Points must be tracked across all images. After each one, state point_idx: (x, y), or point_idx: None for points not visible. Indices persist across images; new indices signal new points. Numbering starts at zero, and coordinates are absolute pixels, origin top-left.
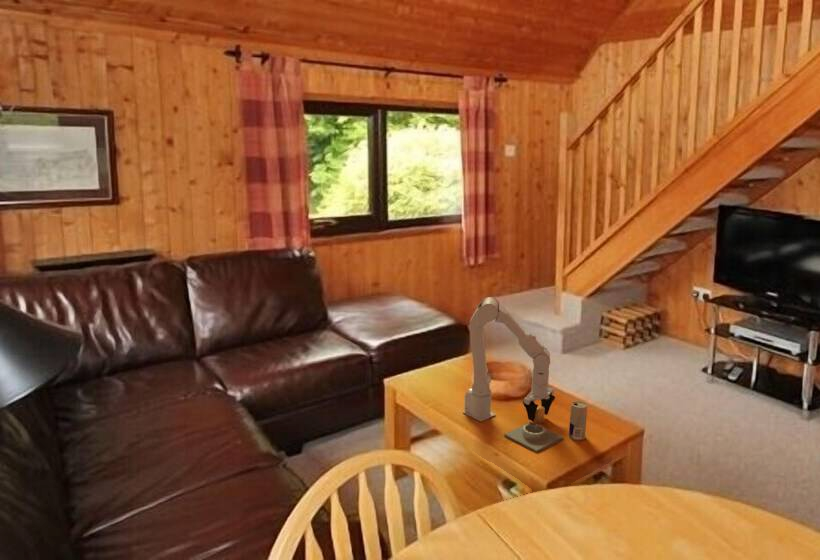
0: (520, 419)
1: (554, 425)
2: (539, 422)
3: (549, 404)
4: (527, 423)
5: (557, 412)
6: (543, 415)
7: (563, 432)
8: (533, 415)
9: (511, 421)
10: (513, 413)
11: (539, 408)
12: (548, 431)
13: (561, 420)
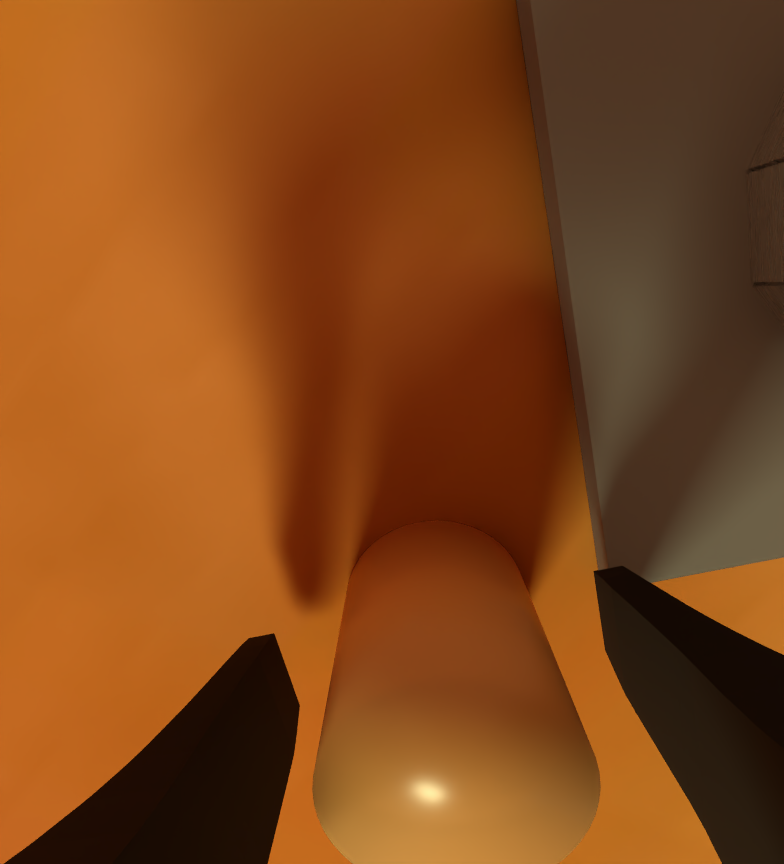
0: (626, 714)
1: (300, 378)
2: (474, 534)
3: (156, 799)
4: (697, 568)
5: (28, 661)
6: (405, 594)
7: (311, 96)
8: (711, 621)
9: None
10: (587, 852)
11: (453, 769)
12: (602, 178)
13: (100, 459)
